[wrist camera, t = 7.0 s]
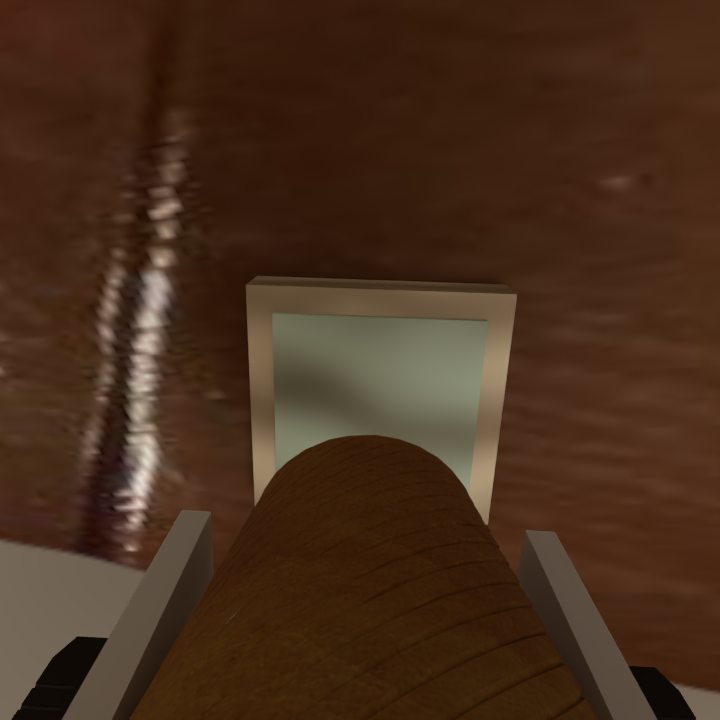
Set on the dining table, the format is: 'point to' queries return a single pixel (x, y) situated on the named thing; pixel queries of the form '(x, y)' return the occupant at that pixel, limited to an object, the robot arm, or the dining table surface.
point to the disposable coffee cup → (364, 605)
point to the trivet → (379, 369)
